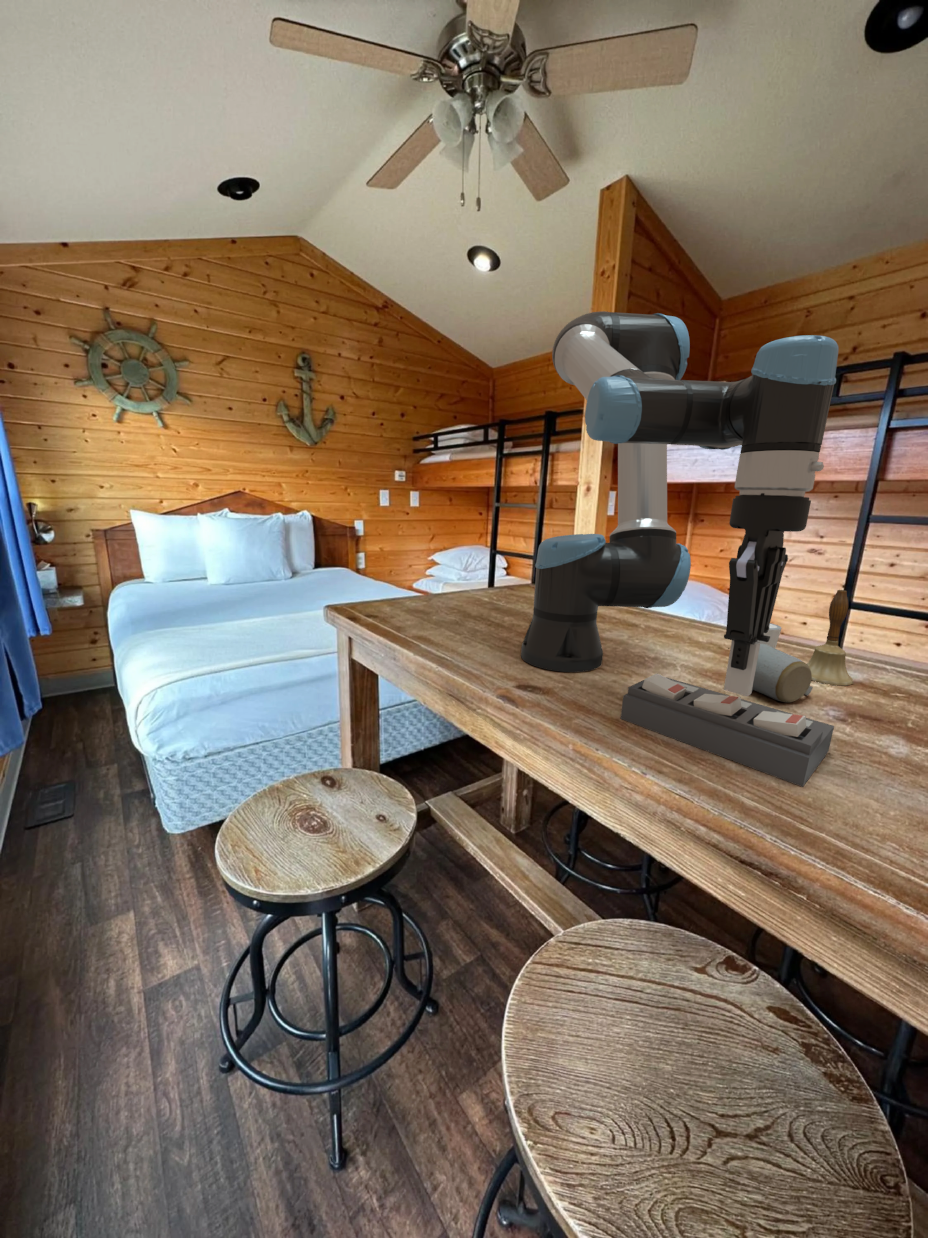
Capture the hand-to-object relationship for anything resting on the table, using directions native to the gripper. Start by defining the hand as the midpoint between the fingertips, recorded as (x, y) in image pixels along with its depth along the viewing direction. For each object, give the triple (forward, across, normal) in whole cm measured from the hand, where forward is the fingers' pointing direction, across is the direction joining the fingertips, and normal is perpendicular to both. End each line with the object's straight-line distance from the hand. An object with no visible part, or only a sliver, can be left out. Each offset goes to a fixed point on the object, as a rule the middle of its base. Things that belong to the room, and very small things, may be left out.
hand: (737, 691), depth 61 cm
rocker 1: (+2, 0, +9) cm, 9 cm away
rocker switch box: (+7, +3, +2) cm, 8 cm away
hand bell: (+8, +42, -2) cm, 42 cm away
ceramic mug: (+8, +25, +2) cm, 27 cm away
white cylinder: (+7, +44, +10) cm, 45 cm away
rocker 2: (+2, 0, -5) cm, 6 cm away
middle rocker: (+2, 0, +2) cm, 3 cm away
